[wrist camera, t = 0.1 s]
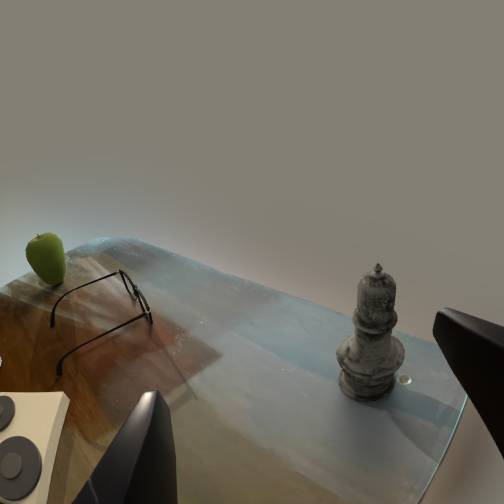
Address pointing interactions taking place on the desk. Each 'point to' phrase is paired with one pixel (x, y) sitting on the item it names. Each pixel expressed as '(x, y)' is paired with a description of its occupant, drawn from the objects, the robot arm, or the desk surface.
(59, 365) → the eyeglasses
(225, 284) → the desk surface
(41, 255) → the apple
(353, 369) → the pewter sugar caster
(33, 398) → the stove
